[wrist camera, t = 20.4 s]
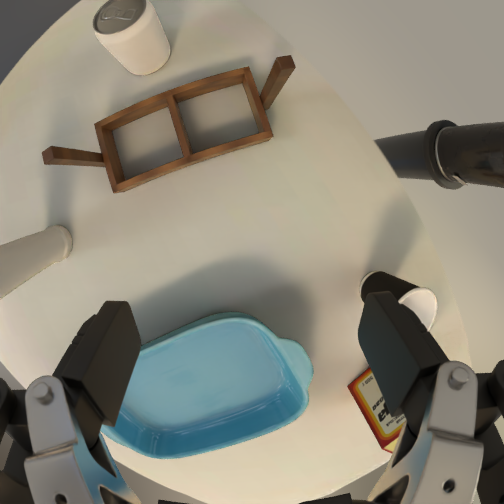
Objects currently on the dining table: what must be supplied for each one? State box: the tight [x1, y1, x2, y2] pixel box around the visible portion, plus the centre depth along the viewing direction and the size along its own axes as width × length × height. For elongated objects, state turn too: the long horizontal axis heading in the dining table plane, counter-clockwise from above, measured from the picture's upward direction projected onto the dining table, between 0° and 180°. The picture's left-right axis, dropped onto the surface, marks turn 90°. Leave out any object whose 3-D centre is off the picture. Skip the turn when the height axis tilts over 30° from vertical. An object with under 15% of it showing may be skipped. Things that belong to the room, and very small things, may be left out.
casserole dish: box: [100, 312, 314, 459], centre depth 36 cm, size 37×22×7 cm, turn 117°
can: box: [93, 0, 171, 75], centre depth 21 cm, size 6×6×12 cm
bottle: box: [0, 225, 73, 300], centre depth 20 cm, size 5×5×25 cm
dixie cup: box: [359, 271, 437, 331], centre depth 33 cm, size 8×8×11 cm
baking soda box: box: [347, 367, 406, 453], centre depth 35 cm, size 10×6×16 cm
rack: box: [42, 55, 296, 193], centre depth 24 cm, size 22×9×14 cm, turn 107°
